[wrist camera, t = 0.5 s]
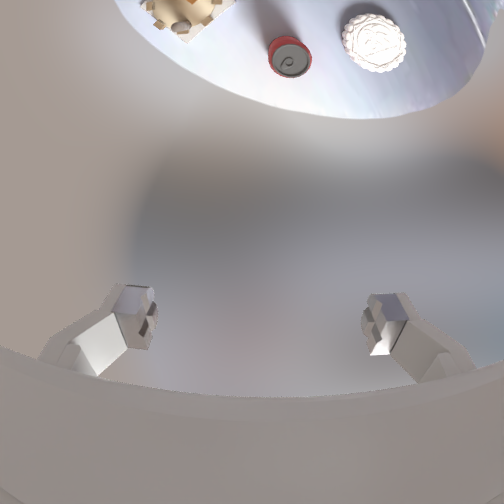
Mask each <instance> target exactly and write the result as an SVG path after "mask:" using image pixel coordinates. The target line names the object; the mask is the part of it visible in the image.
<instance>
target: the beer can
mask: <svg viewBox="0 0 504 504" xmlns="http://www.w3.org/2000/svg"><path fill="white" fill-rule="evenodd" d="M268 60H269V64H270V66H271V68H272V69H273V70H274V72H275V73H277V74H279V75H280V76H283V77H286V78H296V77H300V76H301V75H303V74H305V73H306V72H307V71H308V69H309V68H310V66H311V63H312V56H311V53H310V51H309V49H308V48H307V47H306V46H305V45H304V44H303V43H302V42H300V41H299V40H297V39H296V38H294V37H290V36H282V37H278V38H277V39H275V40H273V42H272V43H271V44H270V47H269V51H268Z"/></svg>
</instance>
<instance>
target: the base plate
mask: <svg viewBox="0 0 504 504" xmlns="http://www.w3.org/2000/svg"><path fill="white" fill-rule="evenodd" d="M152 1H153V0H146V1H145V2H144V3H143V4H142V5H141V6H140V7H141V8H142V9H143V10H145V11H146V2H152ZM235 3H236V2H235V1H234V0H223V1H222V5H215V8H214V10H213V12H212V13H211V15H210V17H212V18H213V19H214V20H215V19H216V18H217V17H219V16H220V15H221V14H222V13H223V12H225V11H226V10H227V9H228V8H230V7H231V6H232V5H234V4H235ZM146 12H147V13H149V14H150V15H151V16H153V17H154V18H155V19H156V17H155V16H154V13H153V10H151V11H146ZM214 20H213V21H214ZM213 21H212V22H213ZM207 26H208V25H207ZM207 26H203V25H202V24H201V23H200V24H198V25H196V26H193V27H191V28H190V29H189V33H188V34H178V35H177V32H173V31H172V30H171V28H170V27H167V26H166V27H167V28H168V29H170V30H171V31H172V32H173V33H174V34H176V35H177V36H178V37H179V38H181V39H182V40H183V41H184V42H185V43H187V44H188V43H189V42H190V41H191V40H192V39H194V38H195V37H196V36H197V35H198V34H199V33H200V32H201V31H202V30H203V29H205V28H206V27H207Z"/></svg>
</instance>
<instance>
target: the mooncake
mask: <svg viewBox="0 0 504 504" xmlns="http://www.w3.org/2000/svg"><path fill="white" fill-rule="evenodd" d="M344 29H345V31H343V33H342V37H343V38H344V39H343V41H342V44H343V45H344V46H345V52H346V53H347V54H349V55H350V58H351V60H353V61H354V62H356V63H357V64H358V65H359V66H361V67H362V68H366V69H368V70H370V71H372V72H374V71H378V72H384V71H391V70H392V68H396V67H397V66H398V65H399V63H400V62H402V61H403V56H404V55H405V54H406V50H405V47H406V42H405V40H404V35H403V33H402V32H400V28H399V27H398V26H397V25H395V24H394V23H393V22H392V20H390V19H385V17H384V16H382V15H375V14H365V15H357V16H356V18H352V19H350V20H349V24H346V25H345V27H344Z"/></svg>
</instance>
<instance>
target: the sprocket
mask: <svg viewBox="0 0 504 504" xmlns="http://www.w3.org/2000/svg"><path fill="white" fill-rule="evenodd" d="M222 1H223V0H153V1H152V2H146V11H151V10H153V13H154V16H155V17H156V19H157V21H156V22H155V23H154V24H153V25H154V26H156V27H157V28H158V29H159V30H162V29H164V28H165V27H166V26H167V27H170V28H171V30H172V31H173V32H177V35H178V34H188V33H189V29H190V28H191V27H193V26H196V25H198V24H200V23H201V24H202V25H203V26H207V25H209V24H210V23H211V22H212V21H213V20H214V19H213V18H212V17H210V15H211V13H212V12H213V10H214V8H215V5H222Z"/></svg>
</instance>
